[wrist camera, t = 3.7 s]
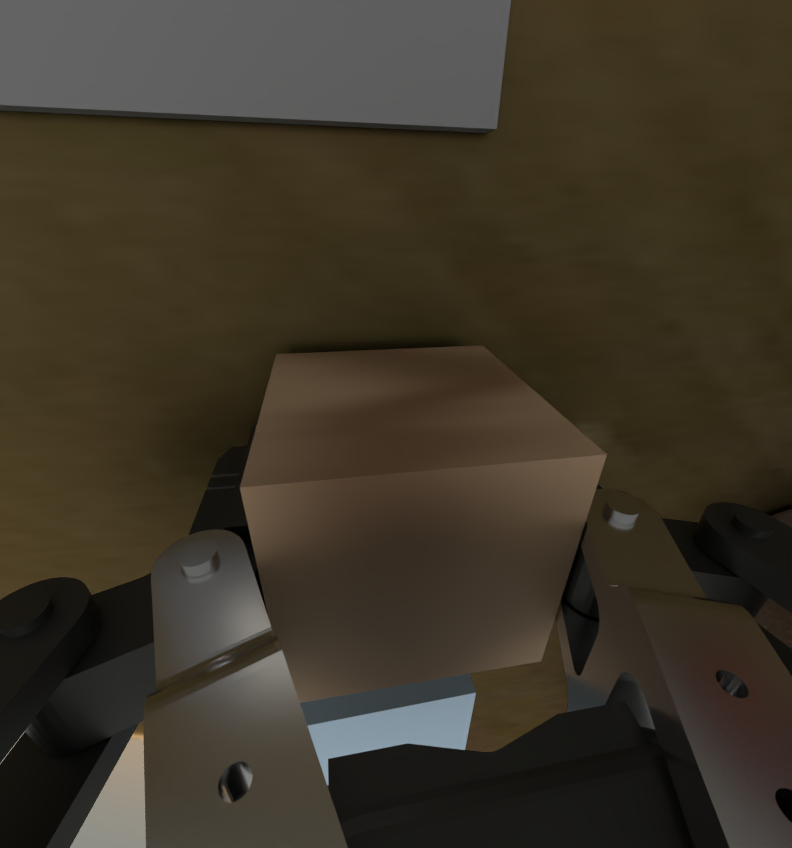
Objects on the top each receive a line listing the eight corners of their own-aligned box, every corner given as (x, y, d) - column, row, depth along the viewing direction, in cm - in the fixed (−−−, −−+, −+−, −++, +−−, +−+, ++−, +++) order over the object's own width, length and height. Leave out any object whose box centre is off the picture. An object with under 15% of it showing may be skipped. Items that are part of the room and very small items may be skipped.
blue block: (430, 557, 16) (476, 692, 11) (424, 637, 18) (459, 773, 14) (299, 575, 15) (294, 728, 11) (311, 656, 17) (311, 808, 13)
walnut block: (482, 345, 10) (606, 454, 6) (463, 501, 12) (541, 661, 8) (276, 354, 9) (239, 487, 5) (298, 518, 12) (288, 705, 7)
